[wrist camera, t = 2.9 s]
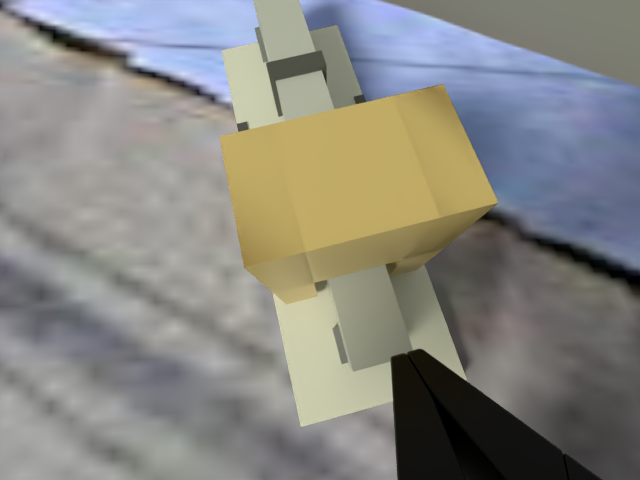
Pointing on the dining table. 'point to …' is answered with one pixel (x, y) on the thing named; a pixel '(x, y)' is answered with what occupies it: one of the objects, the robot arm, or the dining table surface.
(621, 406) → the dining table surface
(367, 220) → the sleeve
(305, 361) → the pipe stand
